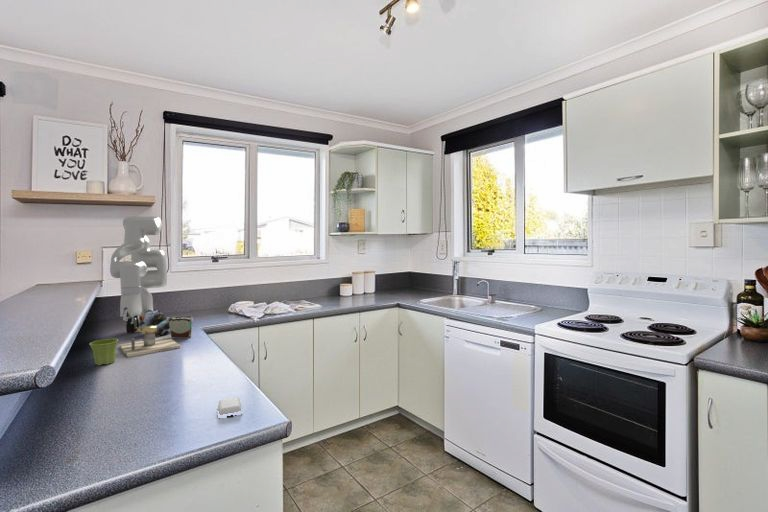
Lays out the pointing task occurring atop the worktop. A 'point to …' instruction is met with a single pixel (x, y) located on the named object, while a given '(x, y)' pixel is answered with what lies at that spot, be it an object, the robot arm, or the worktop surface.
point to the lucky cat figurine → (155, 321)
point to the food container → (180, 326)
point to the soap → (229, 405)
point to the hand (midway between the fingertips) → (133, 331)
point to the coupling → (144, 329)
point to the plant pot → (104, 351)
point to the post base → (149, 349)
